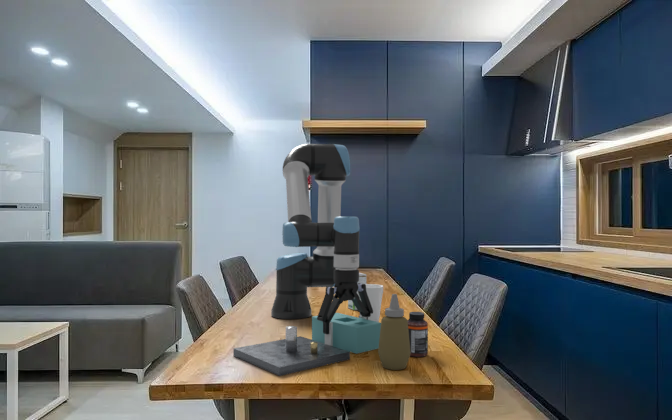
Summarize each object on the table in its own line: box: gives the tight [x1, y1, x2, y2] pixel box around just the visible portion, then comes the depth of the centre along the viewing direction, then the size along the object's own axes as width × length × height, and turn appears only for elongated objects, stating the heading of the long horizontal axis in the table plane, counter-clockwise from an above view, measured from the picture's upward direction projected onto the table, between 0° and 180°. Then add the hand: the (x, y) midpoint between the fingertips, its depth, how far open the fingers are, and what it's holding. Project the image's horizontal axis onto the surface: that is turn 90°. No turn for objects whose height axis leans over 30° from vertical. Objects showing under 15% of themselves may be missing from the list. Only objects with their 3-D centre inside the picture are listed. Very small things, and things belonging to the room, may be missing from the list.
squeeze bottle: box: [377, 293, 411, 371], centre depth 124 cm, size 8×8×18 cm
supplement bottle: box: [407, 311, 429, 358], centre depth 136 cm, size 6×6×11 cm
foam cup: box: [357, 283, 384, 322], centre depth 177 cm, size 10×9×13 cm
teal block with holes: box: [311, 312, 381, 354], centre depth 147 cm, size 20×10×7 cm, turn 40°
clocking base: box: [232, 325, 351, 377], centre depth 132 cm, size 22×22×8 cm
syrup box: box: [347, 272, 367, 311], centre depth 204 cm, size 6×6×14 cm
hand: (346, 341), depth 147 cm, fingers open, 12 cm apart
